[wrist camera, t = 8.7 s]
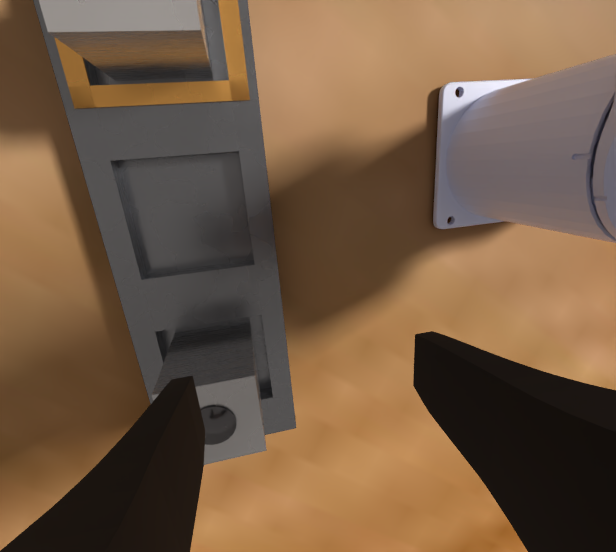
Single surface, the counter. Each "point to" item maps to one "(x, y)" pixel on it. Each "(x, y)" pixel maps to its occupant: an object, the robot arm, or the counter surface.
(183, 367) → the nut
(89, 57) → the drawer with knob
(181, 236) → the rail
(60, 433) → the counter surface
